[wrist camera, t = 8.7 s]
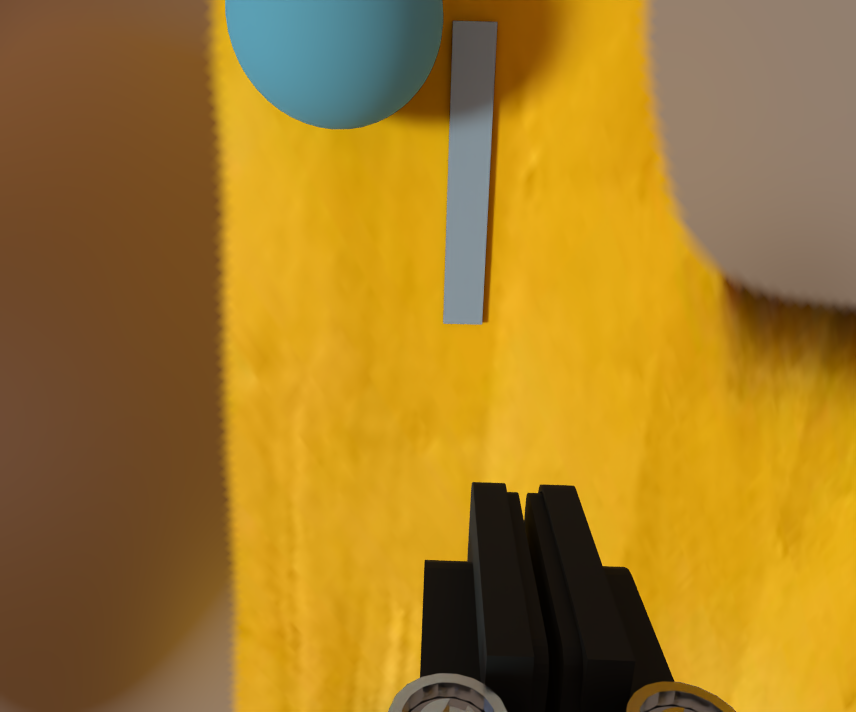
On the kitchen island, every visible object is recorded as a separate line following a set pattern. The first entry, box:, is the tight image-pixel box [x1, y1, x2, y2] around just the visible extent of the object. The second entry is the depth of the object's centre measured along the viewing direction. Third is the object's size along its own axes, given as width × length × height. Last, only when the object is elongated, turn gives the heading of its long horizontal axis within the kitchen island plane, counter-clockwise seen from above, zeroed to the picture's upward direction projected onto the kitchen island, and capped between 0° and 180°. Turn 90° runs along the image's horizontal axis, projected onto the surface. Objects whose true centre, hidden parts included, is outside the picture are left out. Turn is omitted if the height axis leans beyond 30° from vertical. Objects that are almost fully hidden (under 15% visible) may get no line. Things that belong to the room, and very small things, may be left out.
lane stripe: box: [443, 21, 497, 324], centre depth 25 cm, size 10×1×1 cm, turn 179°
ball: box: [225, 0, 443, 129], centre depth 20 cm, size 6×6×6 cm
